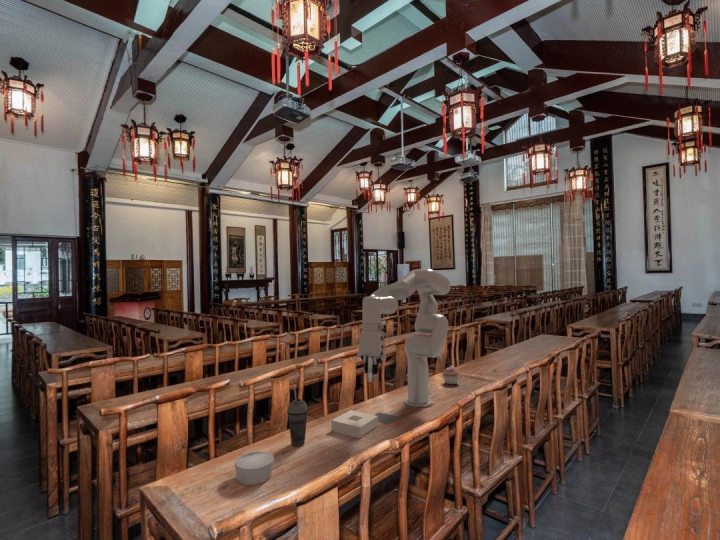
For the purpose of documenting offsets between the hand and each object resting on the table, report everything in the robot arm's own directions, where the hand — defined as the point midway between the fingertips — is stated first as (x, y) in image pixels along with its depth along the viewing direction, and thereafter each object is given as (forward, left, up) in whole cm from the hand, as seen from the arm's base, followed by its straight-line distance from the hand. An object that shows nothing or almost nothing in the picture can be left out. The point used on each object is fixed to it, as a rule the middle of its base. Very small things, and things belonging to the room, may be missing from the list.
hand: (371, 373), depth 150 cm
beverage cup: (+30, -12, -20) cm, 38 cm away
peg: (0, 0, -3) cm, 3 cm away
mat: (-6, +2, -20) cm, 21 cm away
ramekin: (+53, -8, -20) cm, 57 cm away
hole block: (+8, -3, -20) cm, 22 cm away
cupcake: (-71, +8, -20) cm, 74 cm away
